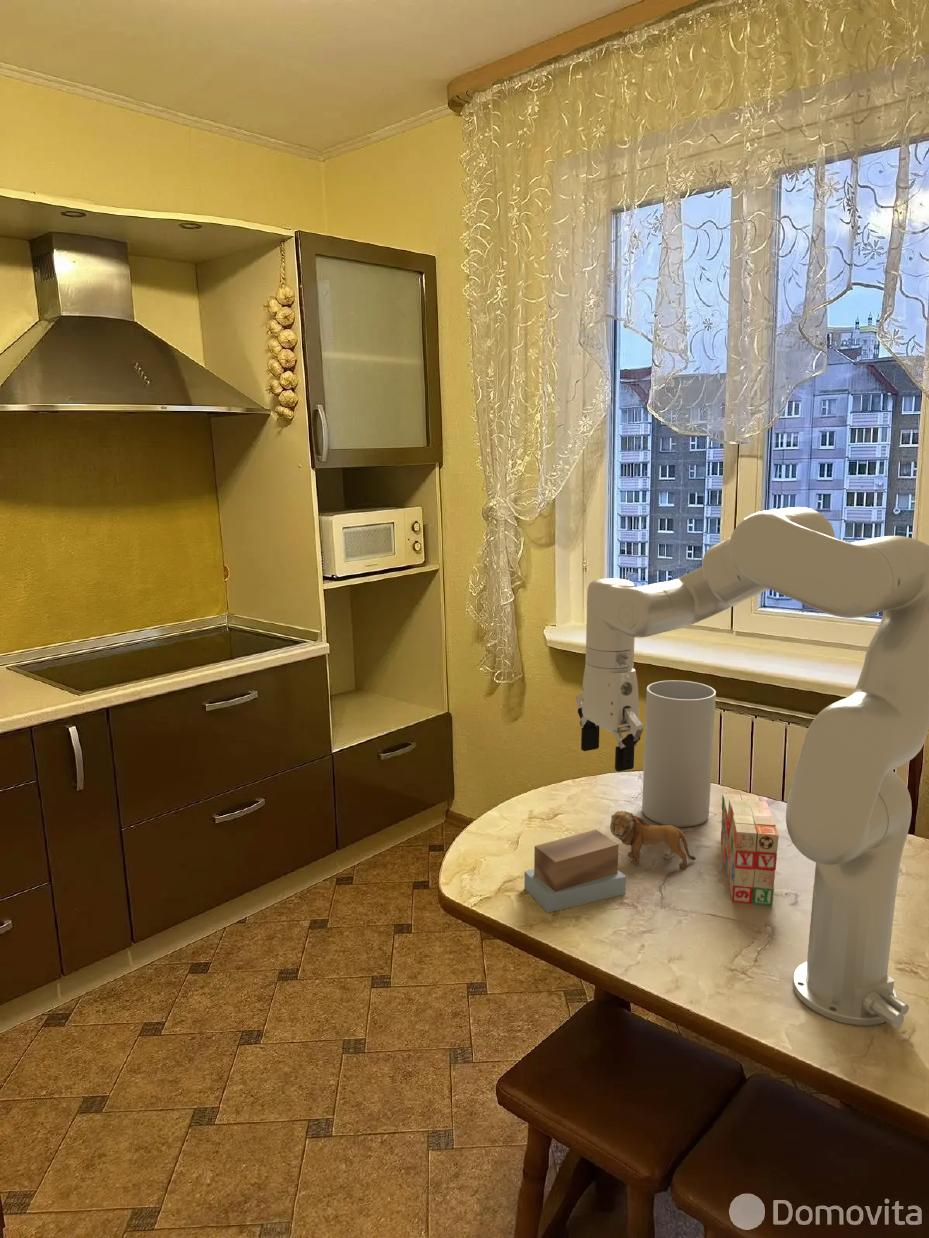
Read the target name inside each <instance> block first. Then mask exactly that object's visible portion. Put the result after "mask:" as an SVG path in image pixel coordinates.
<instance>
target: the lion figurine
mask: <svg viewBox="0 0 929 1238" xmlns="http://www.w3.org/2000/svg"><path fill="white" fill-rule="evenodd" d="M609 829H610V832H611V835H613V836H614V837H615V838H616V839H618V840H620V841H621V843H622V844H623V845H625V846H630V851H629V852H628V853H627V856H628V857H632V859H631V860H630V863H631V864H633V865H638V864H639V862H640V860H641V850H642V848H643V845H644V846H649V847H656V846H657V847H658V846H661V845H662V844H666V845H667V847H668V849H669V851H668V853H664V854H663V856H662V857H663V858H664V859H667V860H668V859H671V858H672V857H673V856H674V855H676V856H677V857H679V859H681V860H682V861H681V862H679V864H678V866H679V868H681V869H686V868H687V867H688V859H689V860H691V861H696V857H695V856H694V855H691V853H690V850H689V846H688V841H687V838H686V837H685V835H684V833H683V832H682V830H681V829H679V827H674V826H672V825H662V824H660V825H655V824H654V825H653V824H649V823H647V822H646V821H645V820H644V819H643V818H641V817H640V816H637V815H634V814H633V813H632V812H628V811H626V810H625V811H624V810H617V811H615V812H614V814H612V815H611V820H610V827H609ZM681 842H682V844H683V847H684V850H685V851H683V848H682V847H681ZM633 857H634V858H633Z"/></svg>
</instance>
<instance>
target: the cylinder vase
mask: <svg viewBox="0 0 929 1238" xmlns="http://www.w3.org/2000/svg"><path fill="white" fill-rule="evenodd" d="M716 695H717V691H716V690H715V689H714V688H713V687H711V686H709V685H706V684H704V683H700V682H696V681H695V682H694V681H689V680H672V679H671V680H661V681H657V682H653V683H650V684H648V685H647V687H646V701H645V702H646V705H645V725H644V726H645V727H644V729H645V730H644V747H643V748H644V753H643V774H642V776H643V779H642V797H641V798H642V799H641V800H642V801H641V805H642V806H641V809H642V813H643V814H644V815H645V816H646V817H647V818H648V819H649V820H651V821H653V822H655V823H657V824H660V825H672V826H674V827H676V828H690V827H694V826H699V825H701V824H703V823H705V822H706V821H707V820H708V818H709V816H710V801H711V786H712V784H711V783H712V767H713V766H712V764H713V748H714V731H715V715H716Z"/></svg>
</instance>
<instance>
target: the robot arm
mask: <svg viewBox="0 0 929 1238" xmlns="http://www.w3.org/2000/svg"><path fill="white" fill-rule="evenodd" d="M701 563H702V564H701V566H699V568H697V569H694V570H692V571H690V572H688V573H685V574H684V575H681V576H680V577H677V578H675V579H671V580H667V581H661V582H660V581H659V582H655V583H650V584H649V583H648V584H645V585H639V586H636V585H635V584H634V582H632V581H630V580H628V579H625V578H617V577H616V578H614V577H613V578H612V577H607V578H606V577H605V578H597V579H594V580H592V581H591V582H590V583H588V587H587V593H586V595H587V596H586V625H585V627H586V632H585V633H586V634H585V635H586V636H585V637H586V639H585V667H584V671H583V680H582V687H581V689H582V690H581V694H579V695H576V697H575V701H576V705H577V706H576V707H577V708H578V709H577V713H578V716H579V719H580V720H579V726H580V727H581V728H580V730H581V732H580V733H581V735H580V736H581V737H580V742H581V743H580V749H581V751H583V752H588V751H593V750H598V749H599V748H600V728H601V729H602V728H603V729H605V730H606V731H608V732H610V733H612V734H613V735H614V737H615V740H616V742H617V746H615V754H614V755H615V757H614V770H615V771H616V772H623V771H629V770H632V769H634V767H635V747H636V746H637V745H638V742H639V741H640V740H641V735H642V733H643V731H644V729H645V727H644V726H645V725H644V724H643V723H642V722H641V720H640V704H639V703H640V702H639V700H640V698H639V685H638V677H637V671H636V669H635V667H634V666H635V665H634V663H635V659H634V658H635V639H636V638H639V639H641V638H647V637H652V636H655V635H659V634H662V633H666V632H671V631H676V630H679V629H683V628H687V627H689V626H692V625H694V624H697V623H699V622H701V621H704V620H706V619H709V618H711V617H713V616H715V615H718V614H720V613H722V612H725V611H726V610H728V609H730V608H732V607H735V606H737V605H739V604H740V603H742V602H744V601H746V600H748V599H751V598H753V597H756V596H758V595H760V594H762V593H764V592H766V591H769V590H770V591H772V592H775V593H778V594H780V595H782V596H785V597H787V598H789V599H791V600H794V601H796V602H798V603H801V604H803V605H805V606H808V607H809V608H810V607H811V608H812V609H814V610H818V611H820V612H822V613H825V614H826V615H830V616H835V617H838V618H845V619H856V618H863V617H867V616H871V615H874V614H877V613H881V612H882V617H881V619H880V623H879V625H878V627H877V630H876V631H875V632H874V634H873V636H872V638H871V641H870V643H869V645H868V648H867V649H866V653H865V656H864V662H863V666H862V669H861V672H860V675H859V678H858V680H857V684H856V686H855V688H854V689H853V691H852V693H851V694H850V695H848V696H847V697H845V698H842V699H839V700H838V701H837V700H836V701H835V702H833V703H831V704H829V705H828V706H825V707H824V708H823V709H821V711H820V712H819V713H818V714H816V716H814V719H813V720H812V721H811V723H810V724H809V726H808V728H807V731H806V734H805V735H804V739H803V742H802V745H801V749H800V752H799V755H798V760H797V763H796V768H795V772H794V775H793V779H792V782H791V787H790V790H789V793H788V798H787V803H786V809H785V824H786V829H787V832H788V836H789V838H790V840H791V843H792V844H793V845H794V847H795V848H796V849H797V850H798V852H799V853H801V854H802V856H804V857H805V858H807V859H808V860H809V861H812V862H815V867H814V876H813V889H812V890H813V891H812V899H811V900H812V902H811V911H810V912H811V913H810V914H811V915H810V924H809V935H808V945H807V946H808V947H807V959H806V960H807V961H805V962H803V963H801V964H800V965H798V966H797V967H796V968H795V970H794V972H793V974H792V987H793V991H794V992H795V994H796V996H797V997H798V998H799V999H800V1001H801V1002H802V1003H804V1005H806V1006H807V1007H808V1008H810V1009H811V1010H813V1011H814V1012H816V1013H817V1014H820V1015H821V1016H823V1017H825V1018H828V1019H831V1020H833V1021H836V1022H839V1023H843V1024H849V1025H854V1026H875V1025H879V1024H883V1023H887V1025H889V1026H891V1027H892V1028H894V1029H898V1028H900V1027H901V1026H902V1025H903V1023H904V1019H905V1018H904V1015H906V1014H908V1012H909V1009H910V1006H909V1005H908V1004H907V1003H906V1002H904V1001H902V1000H901V999H900V998H898V994H897V991H896V990H895V989H894V987H895V986H894V985H895V980H894V978H891V977H890V976H889V975H888V972H889V971H888V969H889V961H890V952H891V942H892V941H891V940H892V934H893V923H894V915H895V907H896V906H895V904H896V897H897V892H898V890H897V889H898V881H899V874H900V867H901V862H902V861H901V860H902V857H903V853H904V849H905V848H904V847H905V844H906V841H907V837H908V833H909V830H910V826H911V821H912V809H913V807H912V799H911V794H910V792H909V789H908V787H907V786H906V782H904V781H903V779H902V778H901V777H900V776H899V775H898V774H897V773H896V772H895V771H894V770H896V769H897V768H899V767H901V766H903V765H905V764H906V763H908V762H909V761H911V760H913V759H914V758H915V757H916V756H918V755H917V754H919V753H920V752H921V750H922V748H923V746H924V745H925V741H926V739H927V734H928V731H929V544H926V543H925V542H923V541H921V540H918V539H916V538H912V537H908V536H903V535H886V536H879V537H873V538H868V539H863V540H858V541H852V542H848V541H844V540H842V539H838V538H836V535H835V530H834V528H833V526H832V524H831V522H830V521H829V519H828V518H827V517H825V516H824V515H823V514H822V513H820V512H819V511H817V510H815V509H813V508H809V507H805V506H804V507H803V506H802V507H801V506H794V507H792V506H791V507H784V508H778V509H777V508H776V509H767V510H762V511H757V512H755V513H753V514H750V515H749V516H747V517H745V518H744V519H742V520H741V521H740V522H739V523H738V524H737V526H736V527H734V530H733V531H732V534H731V535H730V537H728V538H726V539H725V540H722V541H721V542H718V543H716V544H714V545H712V546H709V548H708V549H707V550H706V552H705V553H704V555H703V558H702V562H701ZM620 726H621V727H620ZM622 733H626V736H625V737H623V735H622Z"/></svg>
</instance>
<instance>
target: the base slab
mask: <svg viewBox="0 0 929 1238" xmlns="http://www.w3.org/2000/svg"><path fill="white" fill-rule="evenodd" d="M626 885H627V875H625V874H624V873H623V872H621V871H620V870H619V869H618V873H616V874H613V875H610V876H606V877H603V878H600V879H596V880H593V881H590V882H586V883H583V884H580V885H576V886H573V887H570V888H566V889H563V890H560V891H556V892H555V891H554V890H552V889H551V888H550V887H549V886H547V885H546V884H545V883H544V882H543V881H541V880H540V879H539V878H538V877H536V876H535V875H534V868H533V869H528V870H525V871H524V889H525V890H526V891H527V892H528V894H530V895H531V897H532V898H533V897H534V898H533V899H534V900H535V901H536V902H537V903H538V904H539V905H540V906H541V907H542V909H544V911H546V912H547V913H552V912H556V911H561V910H564V909H569V908H573V907H577V906H580V905H585V904H589V903H593V902H597V901H601V900H605V899H609V898H613V897H614V898H615V897H617V896H621V895H626V889H627V888H626Z"/></svg>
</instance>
